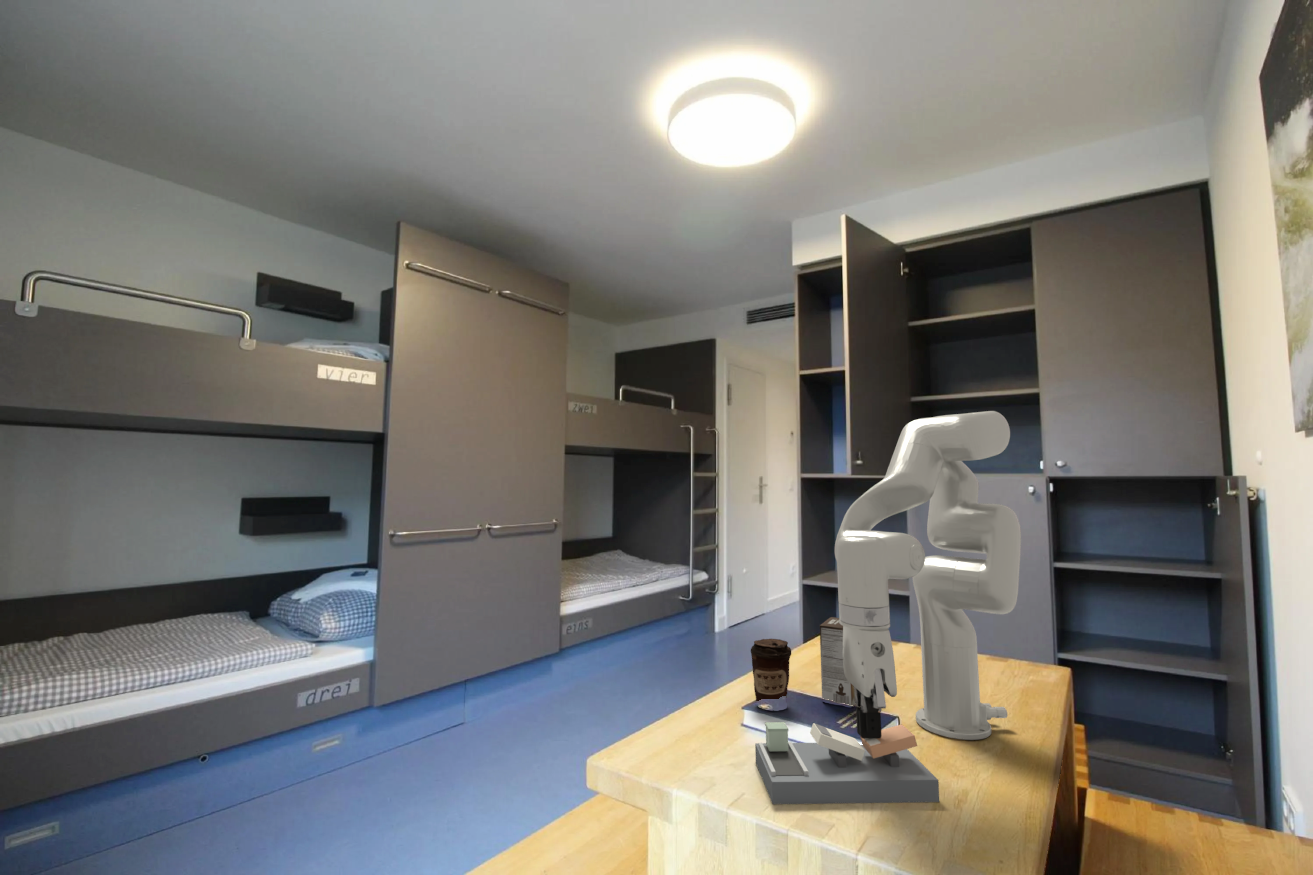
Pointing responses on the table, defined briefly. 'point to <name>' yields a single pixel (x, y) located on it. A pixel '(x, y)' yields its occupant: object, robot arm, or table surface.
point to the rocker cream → (837, 741)
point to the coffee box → (834, 664)
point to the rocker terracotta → (890, 741)
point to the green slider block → (776, 736)
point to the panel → (843, 776)
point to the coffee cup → (770, 668)
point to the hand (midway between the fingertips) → (869, 735)
